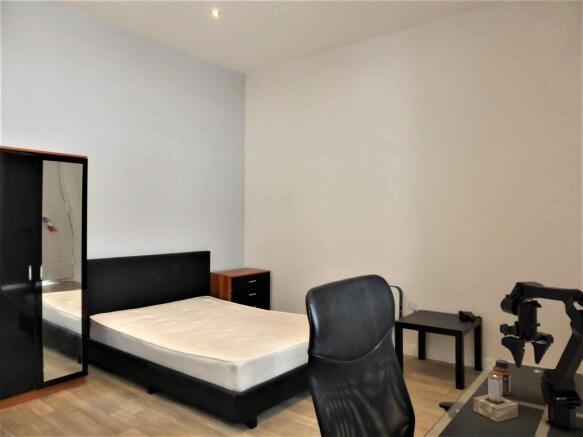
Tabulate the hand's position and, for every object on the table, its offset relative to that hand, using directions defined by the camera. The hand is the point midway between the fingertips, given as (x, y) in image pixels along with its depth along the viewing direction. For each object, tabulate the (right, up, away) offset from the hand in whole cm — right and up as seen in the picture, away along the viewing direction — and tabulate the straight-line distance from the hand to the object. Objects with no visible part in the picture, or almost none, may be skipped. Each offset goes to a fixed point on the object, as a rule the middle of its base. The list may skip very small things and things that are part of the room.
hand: (527, 365), depth 139 cm
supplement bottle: (-4, -13, +10) cm, 17 cm away
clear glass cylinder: (-14, -13, -7) cm, 20 cm away
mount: (-14, -13, -7) cm, 20 cm away
